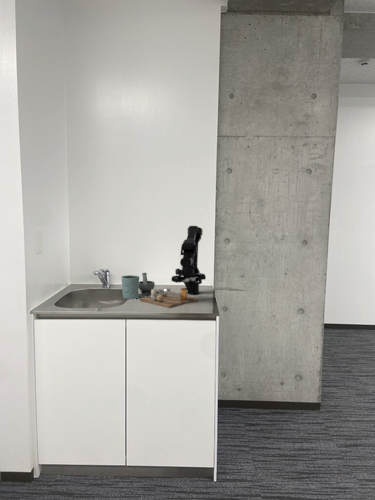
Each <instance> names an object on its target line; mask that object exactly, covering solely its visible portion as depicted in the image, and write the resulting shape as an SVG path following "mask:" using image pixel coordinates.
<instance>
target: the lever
mask: <svg viewBox="0 0 375 500" xmlns="http://www.w3.org/2000/svg"><path fill="white" fill-rule="evenodd" d="M187 292H188V291H187V288H186V287H181V288H180V292H179V291H174V290H171V288H169V287H163V288H159V289H158V295H163V296H168V297H172V298H177V299H181V300H186V299H187V296H188V295H187V294H188V293H187Z"/></svg>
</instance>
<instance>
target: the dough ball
mask: <svg viewBox="0 0 375 500" xmlns="http://www.w3.org/2000/svg"><path fill="white" fill-rule="evenodd" d="M157 295H158V296H157V300H158V301H162V300H163V296H162V295H159V294H157Z"/></svg>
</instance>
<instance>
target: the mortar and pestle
mask: <svg viewBox="0 0 375 500" xmlns="http://www.w3.org/2000/svg"><path fill="white" fill-rule="evenodd" d="M147 273H148V272H142V274H141V276H142V280H139V288H138V290H140V294H141V295H142V296H146V295H147V296H151V289H155V284H156V283H155V281H153V280H148V277H147Z"/></svg>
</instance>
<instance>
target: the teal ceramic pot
mask: <svg viewBox="0 0 375 500" xmlns="http://www.w3.org/2000/svg"><path fill="white" fill-rule="evenodd" d="M139 282H140V275H131V274H130V275H127V274H126V275H122V276H121V289H122V298H123V299H125V300H135V299H136V300H137V299H138V298H139Z"/></svg>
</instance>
